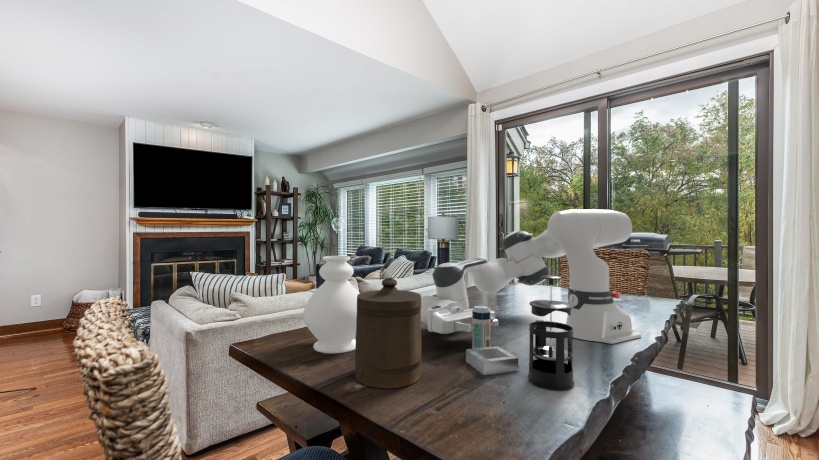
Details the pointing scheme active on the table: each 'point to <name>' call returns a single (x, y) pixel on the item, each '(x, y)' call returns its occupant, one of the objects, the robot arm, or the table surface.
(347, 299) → the decorative vase
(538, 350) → the french press
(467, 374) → the table surface
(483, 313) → the supplement bottle
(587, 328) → the robot arm
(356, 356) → the wooden container
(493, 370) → the light grey square box
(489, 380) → the table surface
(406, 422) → the table surface
